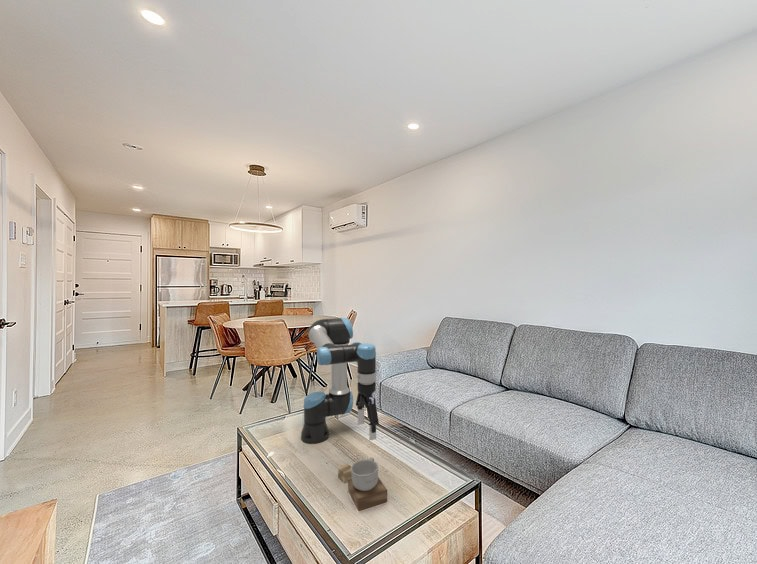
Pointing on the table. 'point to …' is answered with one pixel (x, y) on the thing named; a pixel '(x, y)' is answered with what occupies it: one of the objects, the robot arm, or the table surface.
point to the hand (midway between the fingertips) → (366, 431)
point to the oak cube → (344, 473)
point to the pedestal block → (368, 495)
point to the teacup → (364, 474)
